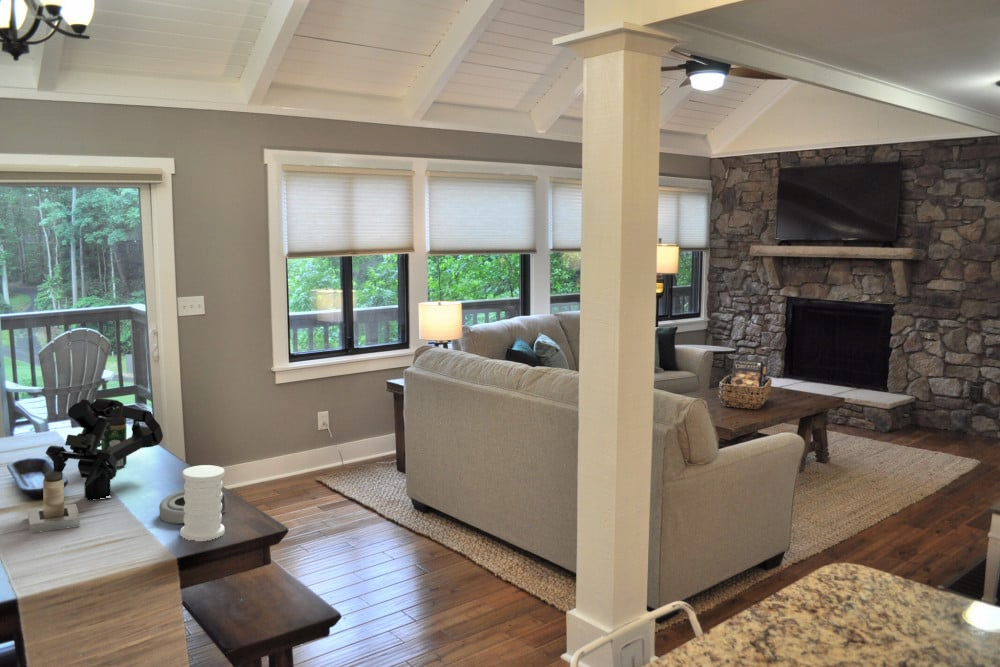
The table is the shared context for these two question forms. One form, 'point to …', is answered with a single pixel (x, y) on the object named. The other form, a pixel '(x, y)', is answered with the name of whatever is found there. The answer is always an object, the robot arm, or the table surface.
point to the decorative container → (203, 503)
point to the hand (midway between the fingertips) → (69, 483)
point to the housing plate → (53, 519)
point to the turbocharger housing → (178, 507)
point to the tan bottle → (53, 495)
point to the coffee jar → (114, 436)
